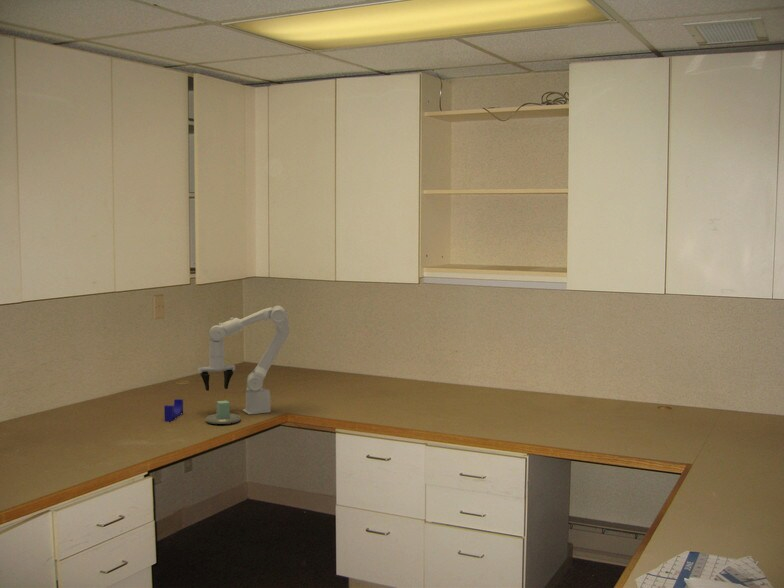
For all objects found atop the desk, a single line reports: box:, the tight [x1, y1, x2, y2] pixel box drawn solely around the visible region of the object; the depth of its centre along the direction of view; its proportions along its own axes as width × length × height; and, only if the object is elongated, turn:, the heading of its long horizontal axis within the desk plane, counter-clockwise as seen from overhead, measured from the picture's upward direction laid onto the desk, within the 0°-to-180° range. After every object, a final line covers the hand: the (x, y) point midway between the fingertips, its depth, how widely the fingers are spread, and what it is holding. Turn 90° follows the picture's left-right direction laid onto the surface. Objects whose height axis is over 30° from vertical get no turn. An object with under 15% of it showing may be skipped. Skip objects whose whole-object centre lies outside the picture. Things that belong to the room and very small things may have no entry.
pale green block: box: [216, 400, 231, 419], centre depth 306 cm, size 4×4×6 cm
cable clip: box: [163, 398, 184, 422], centre depth 311 cm, size 12×4×6 cm, turn 175°
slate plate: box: [205, 413, 241, 425], centre depth 306 cm, size 13×13×2 cm
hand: (216, 389), depth 319 cm, fingers open, 7 cm apart
